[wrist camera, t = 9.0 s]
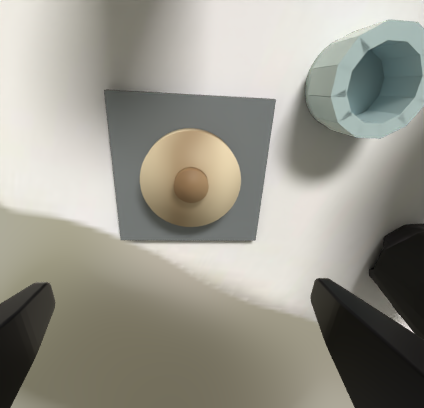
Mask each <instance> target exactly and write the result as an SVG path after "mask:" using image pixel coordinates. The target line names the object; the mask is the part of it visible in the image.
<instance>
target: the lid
mask: <svg viewBox="0 0 424 408" xmlns="http://www.w3.org/2000/svg"><path fill="white" fill-rule="evenodd" d="M240 186H241V173H240V168H239V165H238V162H237V160H236V158H235V156H234V154H233V153H232V151H231V150H230V148H229V147H228V146H227V144H226V143H225V142H224V141H223V140H222V139H220V138H219V137H218V136H216V135H214V134H213V133H211V132H208V131H206V130H202V129H197V128H183V129H178V130H175V131H172V132H170V133H168V134H166V135H164V136H163V137H161V138H160V139H159V140H158V141H156V143H155V144H154V145H153V146H152V148H151V149H150V151H149V152H148V154H147V155H146V157H145V159H144V161H143V163H142V167H141V171H140V187H141V191H142V194H143V197H144V199H145V201H146V203H147V204H148V206H149V207H150V208H151V210H152V211H153V212H154V213H155V214H156V215H158V216H159V217H160V218H162V219H164V220H165V221H167V222H169V223H172V224H175V225H178V226H183V227H198V226H203V225H207V224H210V223H212V222H214V221H216V220H218V219H220V218H221V217H222V216H224V215H225V214H226V213H227V212H228V211H229V210H230V209H231V207H232V206H233V205H234V203H235V201H236V199H237V197H238V194H239V191H240Z"/></svg>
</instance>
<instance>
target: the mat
mask: <svg viewBox="0 0 424 408" xmlns="http://www.w3.org/2000/svg"><path fill="white" fill-rule="evenodd" d="M104 94H105V103H106V112H107V120H108V129H109V138H110V147H111V156H112V165H113V174H114V183H115V192H116V201H117V210H118V219H119V228H120V237H121V240H256V233H257V226H258V219H259V212H260V205H261V198H262V192H263V185H264V178H265V171H266V164H267V157H268V150H269V143H270V136H271V129H272V122H273V116H274V109H275V102H276V99H264V98H246V97H228V96H210V95H192V94H174V93H156V92H137V91H119V90H104ZM183 128H197V129H202V130H206V131H208V132H211V133H213V134H214V135H216V136H218V137H219V138H220V139H222V140H223V141H224V142H225V143H226V144H227V146H228V147H229V148H230V150H231V151H232V153H233V154H234V156H235V158H236V160H237V162H238V165H239V168H240V173H241V186H240V191H239V194H238V197H237V199H236V201H235V203H234V205H233V206H232V207H231V209H230V210H229V211H228V212H227V213H226V214H225V215H224V216H222V217H221V218H220V219H218V220H216V221H214V222H212V223H210V224H207V225H203V226H198V227H183V226H178V225H175V224H172V223H169V222H167V221H165V220H164V219H162V218H160V217H159V216H158V215H156V214H155V213H154V212H153V211H152V210H151V208H150V207H149V206H148V204H147V203H146V201H145V199H144V197H143V194H142V191H141V187H140V171H141V167H142V163H143V161H144V159H145V157H146V155H147V154H148V152H149V151H150V149H151V148H152V146H153V145H154V144H155V143H156V141H158V140H159V139H160V138H161V137H163V136H164V135H166V134H168V133H170V132H172V131H175V130H178V129H183Z"/></svg>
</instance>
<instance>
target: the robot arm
mask: <svg viewBox="0 0 424 408" xmlns="http://www.w3.org/2000/svg"><path fill="white" fill-rule="evenodd" d="M311 303H312V306H313V309H314V312H315V315H316V318H317V320H318V323H319V326H320V329H321V332H322V335H323V338H324V340H325V343H326V346H327V348H328V350H329V352H330V355H331V356H332V359H333V361H334V363H335V365H336V368H337V370H338V372H339V374H340V376H341V379H342V381H343V383H344V385H345V387H346V390H347V392H348V394H349V396H350V398H351V400H352V403H353V405H354V407H355V408H424V339H422V338H420V337H419V336H417V335H416V334H414V333H413V332H411V331H410V330H408V329H406V328H405V327H403V326H402V325H400V324H399V323H397V322H396V321H394V320H392V319H391V318H389V317H388V316H386V315H385V314H383V313H382V312H380V311H378V310H377V309H375V308H374V307H372V306H371V305H369V304H368V303H366V302H364V301H363V300H361V299H360V298H358V297H357V296H355V295H354V294H352V293H350V292H349V291H347V290H346V289H344V288H343V287H341V286H340V285H338V284H336V283H335V282H333V281H332V280H330V279H328V278H317V279H316V280H315V282H314V286H313V289H312V293H311ZM54 308H55V299H54V295H53V292H52V288H51V285H50V283H47V282H41V283H39V282H37V283H34V284H32V285H30V286H28V287H27V288H25V289H24V290H22V291H20V292H19V293H17V294H15V295H14V296H12V297H11V298H9V299H8V300H6V301H4V302H2V303H1V304H0V408H10V407H11V405H12V403H13V401H14V399H15V397H16V395H17V393H18V391H19V389H20V387H21V385H22V383H23V381H24V379H25V377H26V375H27V373H28V371H29V369H30V367H31V365H32V363H33V361H34V359H35V357H36V355H37V352H38V350H39V347H40V345H41V342H42V340H43V337H44V334H45V332H46V329H47V327H48V324H49V321H50V319H51V316H52V313H53V311H54Z"/></svg>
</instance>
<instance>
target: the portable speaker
mask: <svg viewBox="0 0 424 408" xmlns="http://www.w3.org/2000/svg"><path fill="white" fill-rule="evenodd" d="M369 276H370V277H371V278H372V279H373V280H374V282H375V283H376V284H377V285H378V286H379V288H380V289H381V291H382V292H383V293H384V295H385V296H386V297H387V298H388V300H389V301H390V302H391V304H392V305H393V307H394V308H395V310H396V311H397V312H398V313H399V315H400V316H401V317H402V318H403V319H404V321H405V322H406V323H407V324H408V326H409V327H410V328H411V329H412V331H413V332H414V333H415V334H416V335H417V336H419V337H420V338H422V339H424V224H411V225H404V226H402V227H401V228H399V229H397V230H395V231H394V232H392V233H390V234H388V235H387V236H385V237H384V247H383V250H382V252H381V254H380V256H379V259H378V261H377V263H376V265H375V268H374V269H371V270H369Z"/></svg>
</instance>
